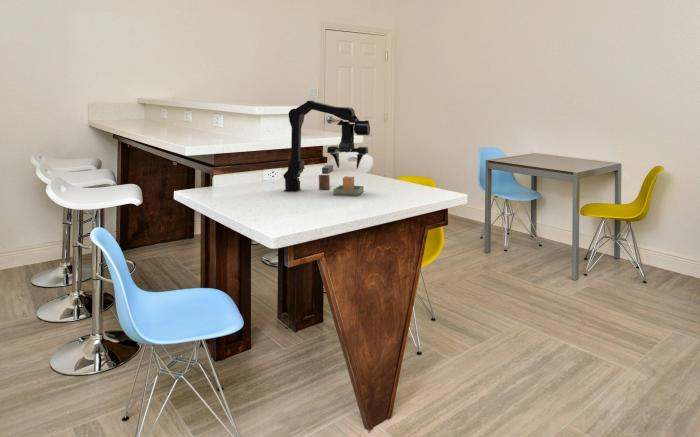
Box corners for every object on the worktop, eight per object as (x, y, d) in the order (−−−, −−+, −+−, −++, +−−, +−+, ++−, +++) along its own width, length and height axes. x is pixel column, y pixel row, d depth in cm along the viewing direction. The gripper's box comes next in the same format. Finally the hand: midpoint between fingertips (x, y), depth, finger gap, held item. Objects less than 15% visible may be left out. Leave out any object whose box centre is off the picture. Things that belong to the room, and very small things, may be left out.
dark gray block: (322, 173, 263) (321, 167, 262) (327, 170, 273) (327, 165, 272) (327, 173, 262) (327, 167, 262) (333, 171, 272) (332, 165, 271)
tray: (333, 194, 249) (333, 189, 249) (339, 190, 261) (339, 185, 260) (358, 195, 247) (358, 190, 246) (363, 191, 258) (363, 186, 257)
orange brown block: (342, 192, 252) (342, 177, 250) (345, 190, 256) (345, 176, 255) (351, 192, 251) (351, 178, 249) (354, 191, 255) (354, 176, 254)
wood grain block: (319, 189, 263) (318, 175, 261) (319, 189, 264) (319, 174, 263) (328, 190, 262) (328, 175, 260) (329, 189, 263) (329, 175, 262)
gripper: (323, 136, 243) (324, 169, 246) (363, 136, 238) (363, 171, 242) (330, 134, 253) (330, 166, 257) (368, 134, 249) (368, 167, 253)
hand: (347, 168), depth 252 cm, fingers open, 9 cm apart
